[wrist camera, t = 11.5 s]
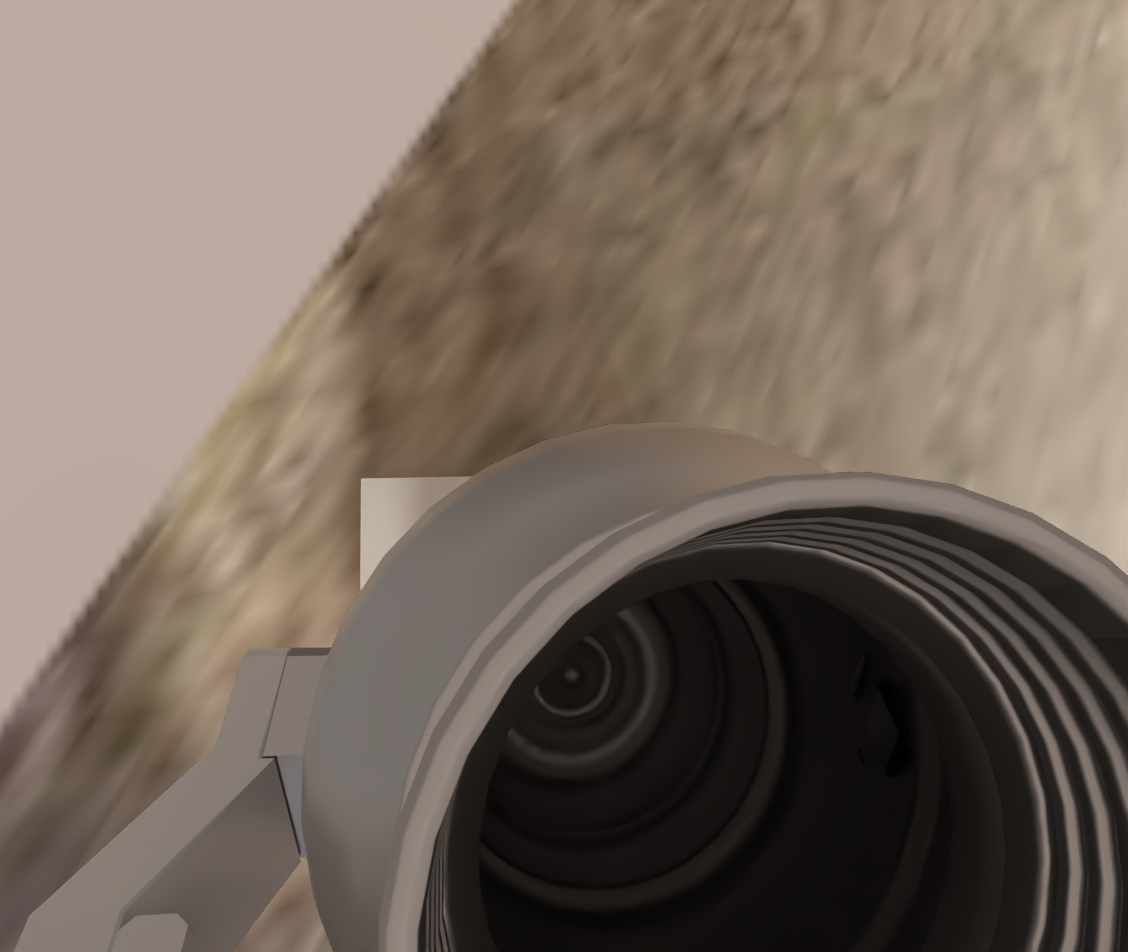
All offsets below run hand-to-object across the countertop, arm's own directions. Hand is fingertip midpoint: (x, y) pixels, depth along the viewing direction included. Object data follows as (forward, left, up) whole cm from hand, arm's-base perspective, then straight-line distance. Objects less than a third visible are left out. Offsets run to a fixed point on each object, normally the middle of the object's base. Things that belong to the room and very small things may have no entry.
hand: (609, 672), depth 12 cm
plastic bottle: (-1, 0, -12) cm, 12 cm away
